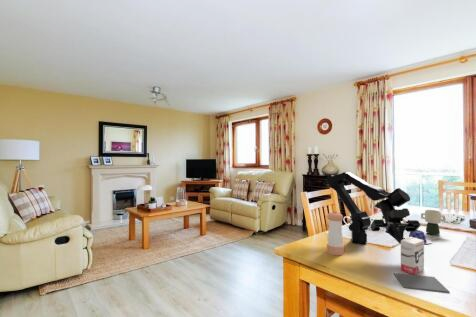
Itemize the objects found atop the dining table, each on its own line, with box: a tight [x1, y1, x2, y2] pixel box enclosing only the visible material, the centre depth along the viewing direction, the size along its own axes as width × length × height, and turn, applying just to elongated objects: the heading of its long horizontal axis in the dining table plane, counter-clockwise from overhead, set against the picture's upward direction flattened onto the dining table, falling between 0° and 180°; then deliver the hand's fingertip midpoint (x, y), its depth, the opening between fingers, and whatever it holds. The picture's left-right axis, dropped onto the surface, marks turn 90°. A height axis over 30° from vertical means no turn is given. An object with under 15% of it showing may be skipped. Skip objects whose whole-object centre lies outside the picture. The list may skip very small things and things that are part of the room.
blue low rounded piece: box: [408, 229, 432, 245], centre depth 134 cm, size 12×12×5 cm
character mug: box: [420, 209, 446, 235], centre depth 145 cm, size 11×7×13 cm, turn 49°
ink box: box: [400, 237, 425, 275], centre depth 99 cm, size 8×5×12 cm, turn 123°
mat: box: [393, 272, 450, 294], centre depth 89 cm, size 13×10×1 cm
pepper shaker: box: [326, 210, 345, 256], centre depth 118 cm, size 7×7×19 cm
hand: (402, 243), depth 107 cm, fingers closed
